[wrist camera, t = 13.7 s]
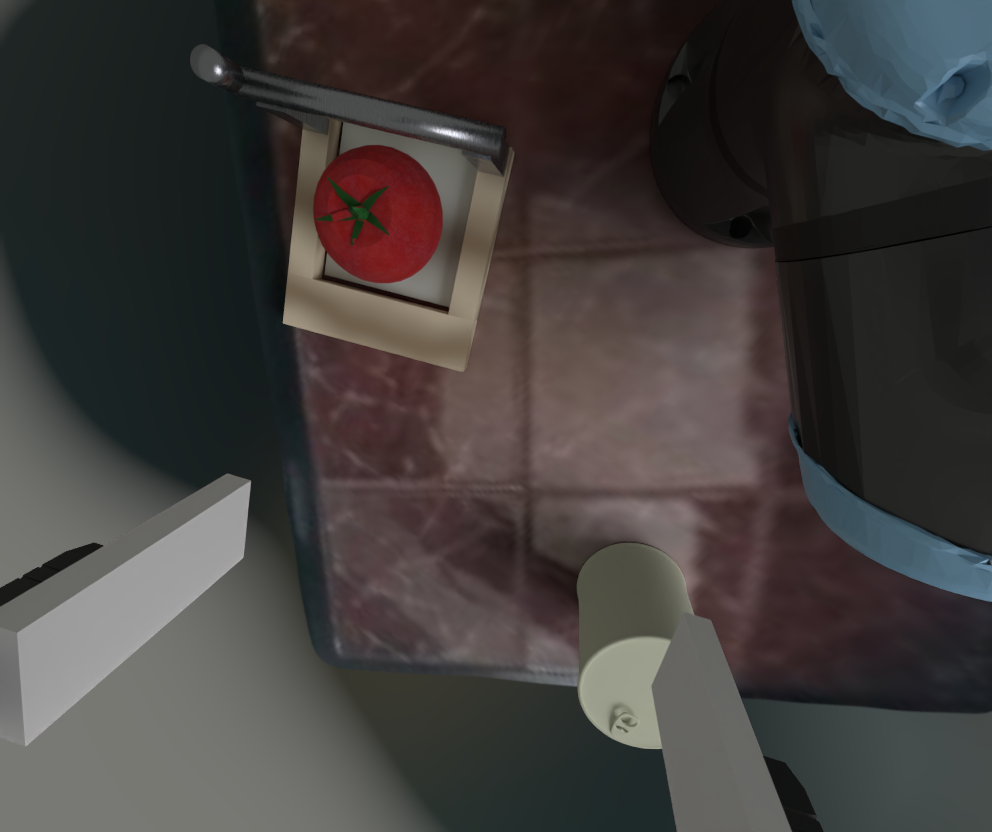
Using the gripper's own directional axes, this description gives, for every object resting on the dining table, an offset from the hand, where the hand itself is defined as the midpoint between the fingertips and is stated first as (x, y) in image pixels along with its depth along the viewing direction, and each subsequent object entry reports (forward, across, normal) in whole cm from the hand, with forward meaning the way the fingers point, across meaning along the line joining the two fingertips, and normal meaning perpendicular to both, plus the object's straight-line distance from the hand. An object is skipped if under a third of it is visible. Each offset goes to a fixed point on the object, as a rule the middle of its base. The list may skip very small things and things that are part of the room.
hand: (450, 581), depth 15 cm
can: (+27, +13, -15) cm, 34 cm away
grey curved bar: (+25, -13, +15) cm, 32 cm away
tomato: (+27, -13, +9) cm, 31 cm away
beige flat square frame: (+27, -13, +8) cm, 31 cm away
